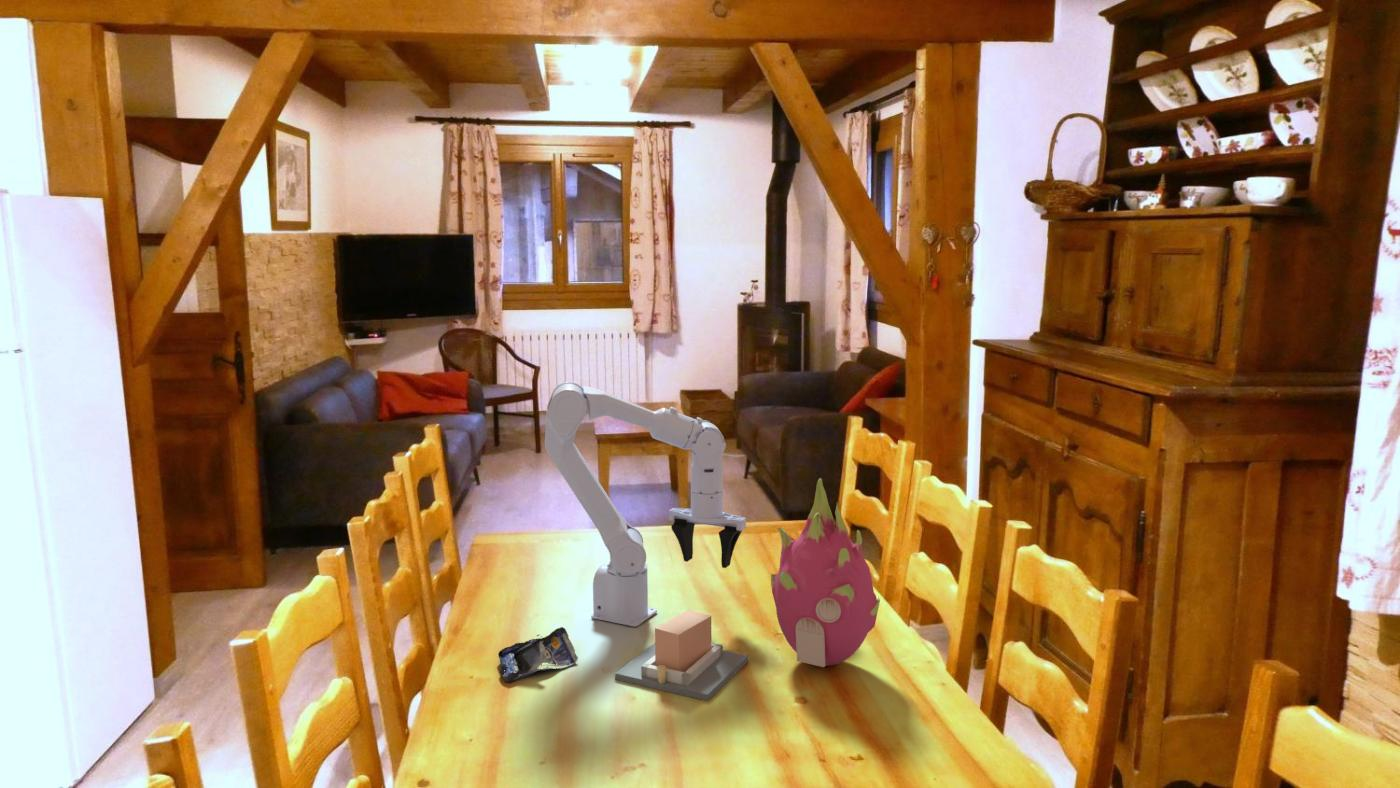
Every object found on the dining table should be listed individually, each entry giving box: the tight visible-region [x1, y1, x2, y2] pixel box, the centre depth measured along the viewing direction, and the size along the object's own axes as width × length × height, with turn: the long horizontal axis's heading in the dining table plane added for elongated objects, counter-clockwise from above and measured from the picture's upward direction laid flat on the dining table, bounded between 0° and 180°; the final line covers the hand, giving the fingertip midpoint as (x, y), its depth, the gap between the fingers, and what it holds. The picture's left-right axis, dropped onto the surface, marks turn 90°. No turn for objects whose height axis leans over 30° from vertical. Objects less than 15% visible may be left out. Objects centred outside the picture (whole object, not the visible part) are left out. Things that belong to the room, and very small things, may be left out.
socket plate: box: [614, 642, 749, 702], centre depth 152 cm, size 16×15×4 cm
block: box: [654, 609, 712, 672], centre depth 152 cm, size 9×4×7 cm, turn 146°
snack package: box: [498, 626, 579, 684], centre depth 153 cm, size 12×7×12 cm
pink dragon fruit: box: [770, 477, 881, 668], centre depth 152 cm, size 18×14×30 cm
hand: (706, 563), depth 174 cm, fingers open, 7 cm apart
